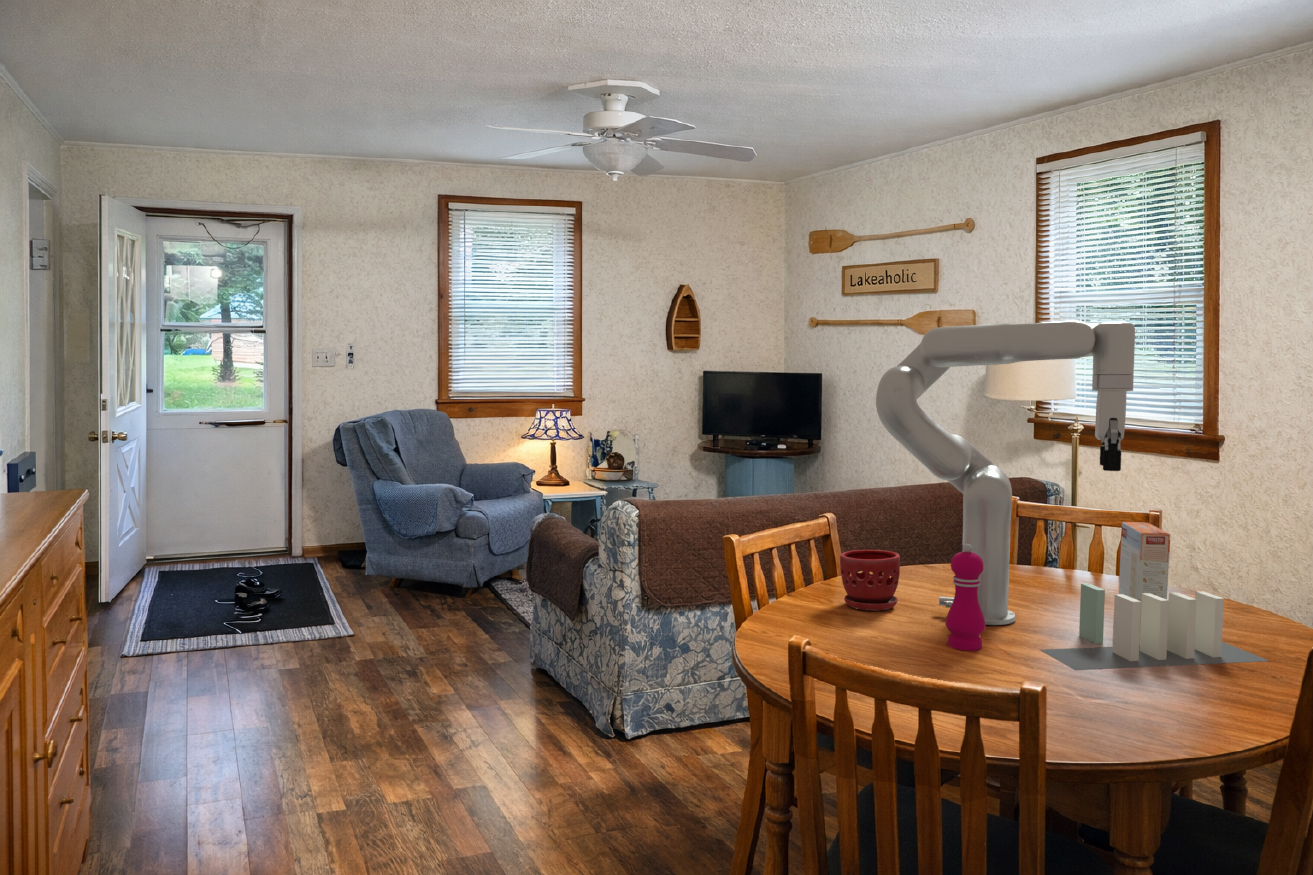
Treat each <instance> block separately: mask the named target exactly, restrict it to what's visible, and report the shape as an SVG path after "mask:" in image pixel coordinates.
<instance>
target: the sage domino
mask: <svg viewBox="0 0 1313 875" xmlns="http://www.w3.org/2000/svg"><path fill="white" fill-rule="evenodd" d="M1105 597H1106V590H1105V589H1103V588H1102V587H1099V586H1096V585H1094V584H1091V583H1088V582H1087V583H1086V582H1084V583H1080V599H1079V600H1080V603H1079V630H1078V636H1079V637H1081V638H1083V639H1085V640H1086V641H1089V642H1091V643H1092V644H1095V645H1102V644H1104V629H1105V628H1104V626H1105V625H1104V624H1105V600H1106V598H1105Z"/></svg>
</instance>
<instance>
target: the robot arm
mask: <svg viewBox="0 0 1313 875" xmlns="http://www.w3.org/2000/svg"><path fill="white" fill-rule="evenodd" d="M1135 343H1136V328H1135V325H1134V324H1133V322H1128V321H1108V322H1107V321H1105V322H1099V323H1086V322H1084V321H1081V320H1065V321H1051V322H1050V321H1048V322H1032V323H1005V322H1004V323H988V324H987V323H986V324H972V325H956V326H953V325H952V326H942V327H934V328H932V329H930V330H927V332H926V333H925V334H924V335H923V336H922V339H921V342H920V343H918V345H917V346H916V347H915V348H914V349H913V350H912V351H911V352H910V353H909V354H908V355H907V356H906V357H905V358H904V359H903V360H901V362H900V363H899V364H897V365H896V366H893V367H891V368H889V369H888V370H886V372H885V373H883V375H882V377H881V378H880V380H879V382H878V384H877V389H876V395H875V407H876V413H877V415H878V416H877V417H878V418H879V420H880V422H881V424H882V426H883V427H884V428H885V430H886V431H887V433H889V434H890V435H891V436H892V437H893V439H895V440H896V441H897V442H898V443H900V444H901V445H902V447H904V448H905V449H906V450H907V451H908V452H909V453H910V454H911V455H912V456H913V457H914V458H915V459H917V461H919V462H920V463H922V465H924V466H925V468H927V470H928V471H929V472H931V473H932V474H933V476H935V477H937V478H938V479H940V480H943V481H946V482H947V481H948V483H949V484H951V485H952V486H953V487H954V488H955V489H956V490H957V491H958V492H960V493H961V495H963V498H962V501H963V502H962V510H963V511H962V516H963V517H962V547H963V546H964V545H965V544H970V545H971V546H972V551H971V552H973V553H976V554H978V555H979V556H980V557H981V559H982V561H983V565H984V568H983V572H982V573H981V574H980V575H979V578H980V579H981V580H980V586H978V591H977V593H978V601H979V605H980V608H981V610H982V613H983V615H984V619H985V626H1002V625H1003V626H1004V625H1005V626H1006V625H1008V624H1013V623H1014V622H1016V614H1015V612H1014V611H1011V610H1009V593H1010V592H1009V588H1010V587H1009V585H1010V582H1009V581H1010V558H1011V557H1010V552H1011V521H1012V505H1013V489H1012V484H1011V481H1010V479H1009V476H1007V474H1006V473H1005V471H1003V470H1002V469H1001V468H1000V467H999V466H997V465H996V464H995V463H994V462H993V461H991V460H990V459H989V458H988V457H987V456H985V455H984V453H982V452H981V451H980V450H979V449H977V447H976V446H974V445H973V444H971V442H970V441H968V440H967V439H965V438H964V437H963V436H960V435H959V434H956V433H955V434H954V433H951V432H948V431H947V430H946V429H945V428H943V427H942V426H941V425H940V424H939V423H938V422H937V421H936V420H935V419H934V418H932V417H931V416H930V415H929V414H927V413H926V412H925V411H924V410H923V409H922V408H921V407H920V405H919V403H918V401H917V400H918V399H919V398H920V397H921V396H922V395H923V394H924V393H926V391H927V390H928V389H930V388H931V387H932V386H933V385H934V384H935V383H936V382H937V381H938V380H939V379H940V378H942V376H944V374H945V373H946V372H947V371H948V370H949V369H950V368H952V367H955V368H956V367H971V366H973V367H974V366H991V365H993V366H997V365H1010V364H1015V363H1020V362H1021V363H1022V362H1033V361H1052V360H1053V361H1055V360H1073V359H1074V360H1075V359H1077V360H1078V359H1081V358H1085V357H1086V358H1088V357H1092V380H1091V381H1092V382H1091V383H1092V384H1091V385H1092V386H1091V391H1092V392H1094V391H1095V392H1097V394H1096V403H1095V404H1096V405H1095V426H1094V427H1095V428H1094V430H1095V431H1094V436H1095V438H1096V439H1097V440H1099V441H1101V442H1100V443H1101V444H1100V446H1099V447H1100V448H1099V449H1100V450H1099V465H1100V466H1102V470H1103V471H1106V472H1120V471H1121V469H1122V450H1121V441H1122V440H1124V438H1125V431H1126V430H1125V428H1126V416H1127V415H1126V414H1127V392H1133V391H1134V379H1135V378H1134V376H1135V375H1134V373H1135V347H1136V346H1135V345H1136V344H1135ZM962 552H964V551H963V550H962ZM954 597H955V595H954V596H953V597H949V596H938V606H943V607H944V606H945V608H949V609H950V608H951V606H952V603H953V601H954Z"/></svg>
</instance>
